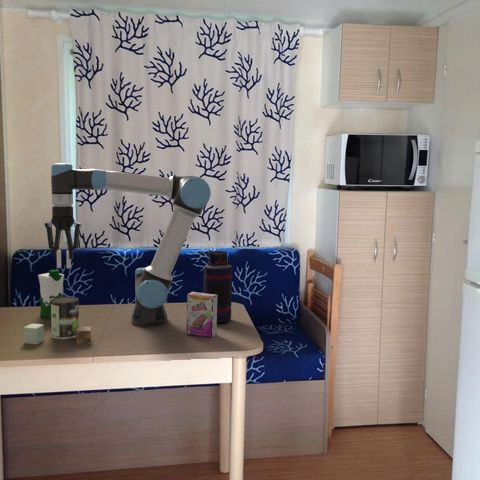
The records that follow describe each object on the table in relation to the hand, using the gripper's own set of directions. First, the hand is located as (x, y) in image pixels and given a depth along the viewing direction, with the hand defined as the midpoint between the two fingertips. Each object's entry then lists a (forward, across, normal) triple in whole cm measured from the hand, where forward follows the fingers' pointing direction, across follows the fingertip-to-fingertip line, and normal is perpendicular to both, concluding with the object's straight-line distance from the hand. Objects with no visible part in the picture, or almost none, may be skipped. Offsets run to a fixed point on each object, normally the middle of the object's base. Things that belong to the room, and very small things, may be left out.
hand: (64, 267), depth 205 cm
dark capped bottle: (+27, +57, +24) cm, 67 cm away
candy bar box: (+27, +52, +4) cm, 59 cm away
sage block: (+27, -9, -8) cm, 29 cm away
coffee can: (+27, 0, 0) cm, 27 cm away
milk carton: (+27, -14, +26) cm, 40 cm away
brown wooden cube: (+27, +9, -7) cm, 29 cm away
